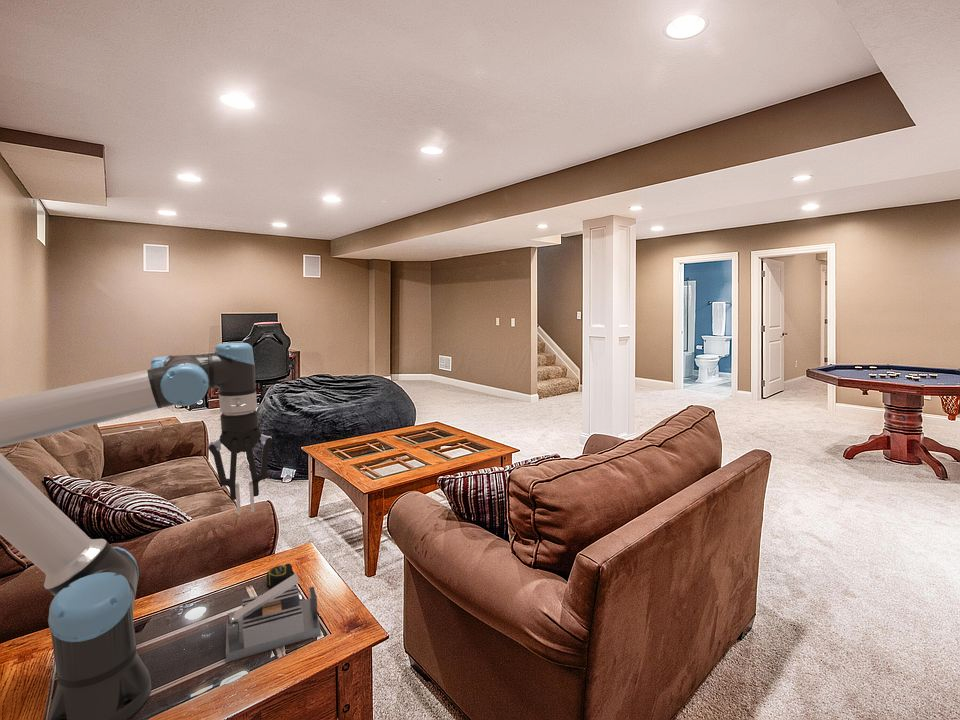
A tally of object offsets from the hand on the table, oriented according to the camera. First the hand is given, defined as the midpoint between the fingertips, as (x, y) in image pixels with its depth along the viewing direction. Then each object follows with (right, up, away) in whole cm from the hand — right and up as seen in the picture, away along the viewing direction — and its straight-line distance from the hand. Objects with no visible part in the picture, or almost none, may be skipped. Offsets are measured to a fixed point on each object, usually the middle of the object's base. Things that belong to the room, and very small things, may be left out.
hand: (245, 510), depth 115 cm
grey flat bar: (+6, -19, -3) cm, 21 cm away
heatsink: (+7, -27, -2) cm, 28 cm away
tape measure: (+2, -25, +18) cm, 30 cm away
